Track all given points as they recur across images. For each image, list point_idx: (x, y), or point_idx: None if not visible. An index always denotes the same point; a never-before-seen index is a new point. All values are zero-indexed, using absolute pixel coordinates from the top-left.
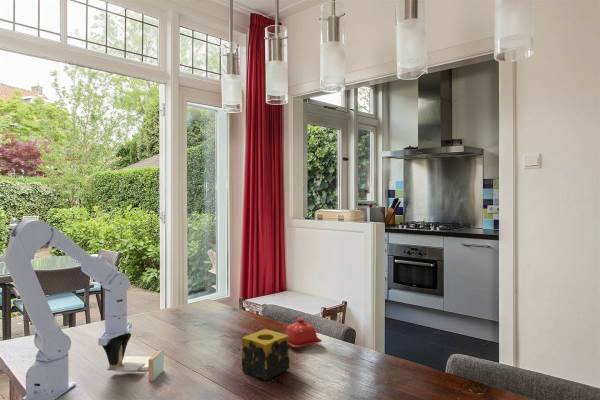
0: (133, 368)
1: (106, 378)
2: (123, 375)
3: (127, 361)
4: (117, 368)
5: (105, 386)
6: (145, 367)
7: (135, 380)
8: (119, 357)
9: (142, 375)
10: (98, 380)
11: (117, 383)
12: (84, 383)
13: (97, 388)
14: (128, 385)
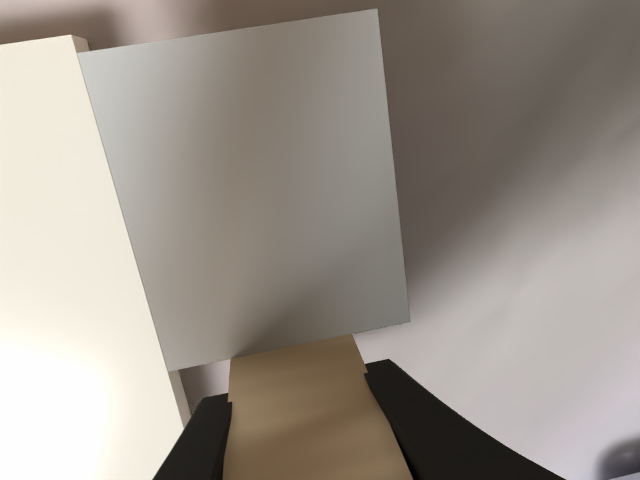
0: (335, 96)
1: (405, 356)
2: None
3: (2, 428)
4: (383, 316)
5: (571, 238)
6: (79, 62)
7: (397, 6)
8: (328, 419)
9: (243, 7)
10: (457, 392)
11: (497, 168)
12: (528, 453)
13: (613, 280)
14: (531, 5)
